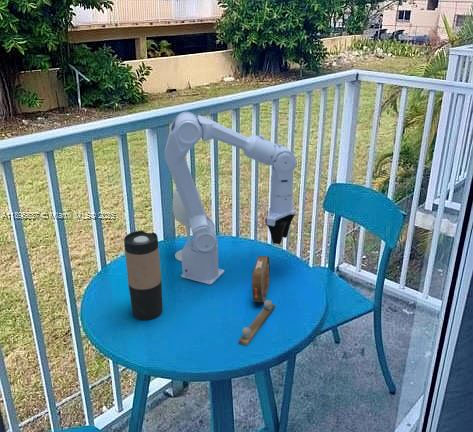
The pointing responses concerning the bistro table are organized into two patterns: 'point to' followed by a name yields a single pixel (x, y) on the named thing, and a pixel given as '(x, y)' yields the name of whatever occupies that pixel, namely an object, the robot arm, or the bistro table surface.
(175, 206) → the wineglass
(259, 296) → the tin
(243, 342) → the wooden rack with knobs
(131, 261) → the travel mug
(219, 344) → the bistro table surface
